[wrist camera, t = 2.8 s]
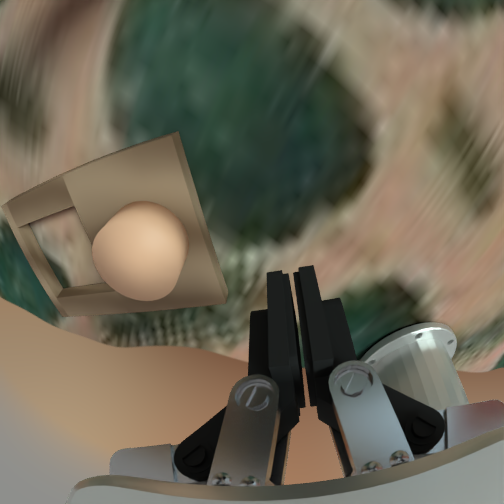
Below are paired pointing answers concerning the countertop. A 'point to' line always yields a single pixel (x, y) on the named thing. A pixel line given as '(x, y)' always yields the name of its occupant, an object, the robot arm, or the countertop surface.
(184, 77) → the countertop surface
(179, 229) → the tan round bun
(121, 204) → the tan piece
